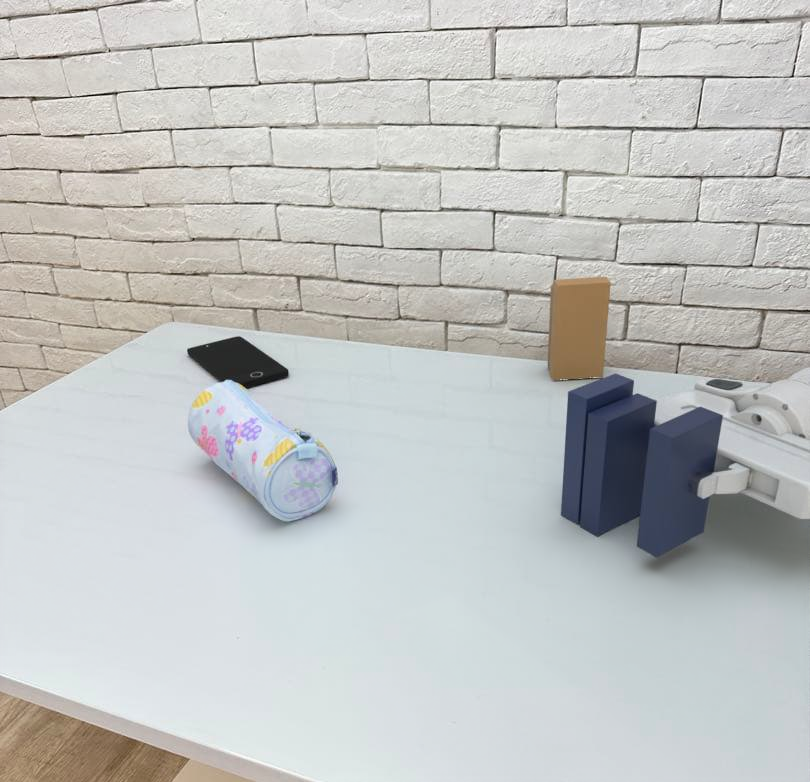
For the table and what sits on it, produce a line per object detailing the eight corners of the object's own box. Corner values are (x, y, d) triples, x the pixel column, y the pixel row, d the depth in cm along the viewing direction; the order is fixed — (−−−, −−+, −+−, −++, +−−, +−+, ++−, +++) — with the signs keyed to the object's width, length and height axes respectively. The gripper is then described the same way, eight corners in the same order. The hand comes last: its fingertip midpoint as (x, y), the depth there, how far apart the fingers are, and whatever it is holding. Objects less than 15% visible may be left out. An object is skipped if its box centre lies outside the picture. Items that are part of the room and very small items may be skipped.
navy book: (683, 521, 81) (700, 406, 74) (703, 532, 79) (723, 415, 73) (636, 546, 78) (649, 428, 71) (656, 558, 76) (672, 438, 70)
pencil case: (346, 509, 90) (337, 428, 85) (272, 538, 86) (259, 454, 81) (257, 440, 105) (245, 367, 99) (191, 462, 101) (175, 387, 95)
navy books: (605, 493, 90) (616, 372, 82) (643, 513, 86) (658, 388, 79) (559, 515, 87) (566, 391, 79) (597, 536, 83) (608, 409, 76)
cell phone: (232, 392, 117) (231, 385, 116) (186, 354, 130) (185, 348, 129) (290, 376, 121) (289, 369, 120) (240, 341, 134) (239, 335, 133)
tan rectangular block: (595, 364, 119) (602, 271, 112) (602, 378, 115) (610, 282, 108) (546, 367, 119) (550, 274, 112) (552, 381, 115) (557, 285, 108)
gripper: (869, 504, 76) (775, 561, 70) (684, 427, 90) (591, 469, 84) (887, 440, 73) (790, 494, 66) (692, 371, 87) (596, 411, 81)
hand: (677, 480), depth 75 cm, fingers closed on navy book, 2 cm apart
